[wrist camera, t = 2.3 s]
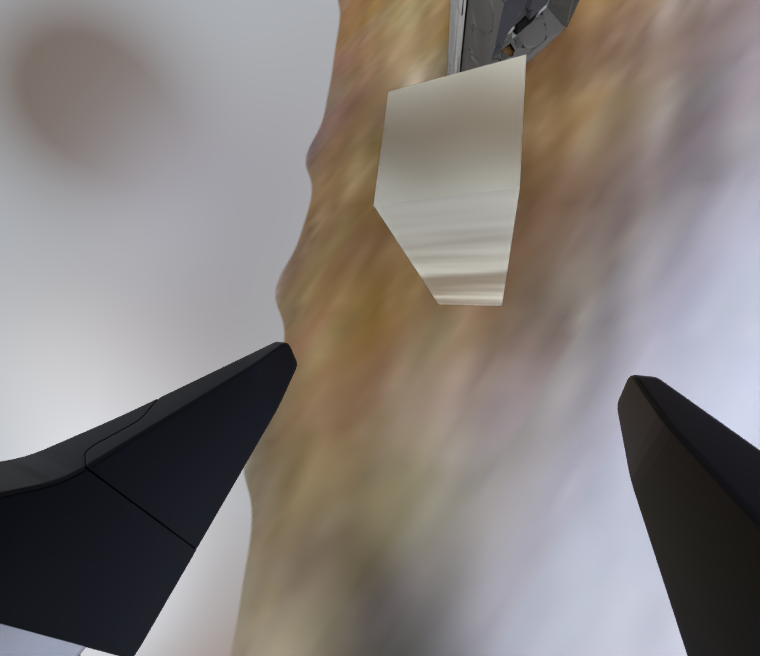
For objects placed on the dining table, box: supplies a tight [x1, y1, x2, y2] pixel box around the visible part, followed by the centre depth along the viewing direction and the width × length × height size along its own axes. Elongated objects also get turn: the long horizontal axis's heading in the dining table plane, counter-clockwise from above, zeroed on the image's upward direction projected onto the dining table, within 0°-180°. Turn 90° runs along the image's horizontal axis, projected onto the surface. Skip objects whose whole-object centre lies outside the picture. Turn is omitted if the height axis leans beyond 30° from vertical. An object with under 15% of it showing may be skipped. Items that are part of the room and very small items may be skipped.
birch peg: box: [374, 55, 526, 306], centre depth 15 cm, size 4×4×13 cm
